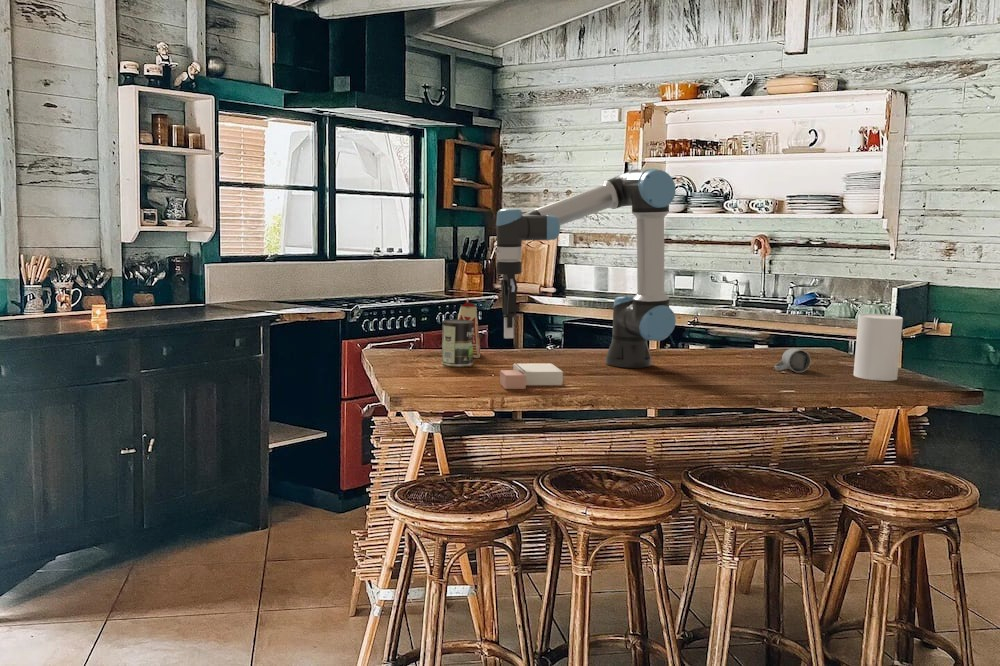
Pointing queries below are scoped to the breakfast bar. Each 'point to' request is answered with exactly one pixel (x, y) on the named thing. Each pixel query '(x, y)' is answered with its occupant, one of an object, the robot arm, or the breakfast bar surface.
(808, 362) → the ceramic mug
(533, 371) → the board
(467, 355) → the coffee can
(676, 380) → the breakfast bar surface
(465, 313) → the milk carton
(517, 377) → the stub
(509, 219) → the robot arm
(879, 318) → the canister
